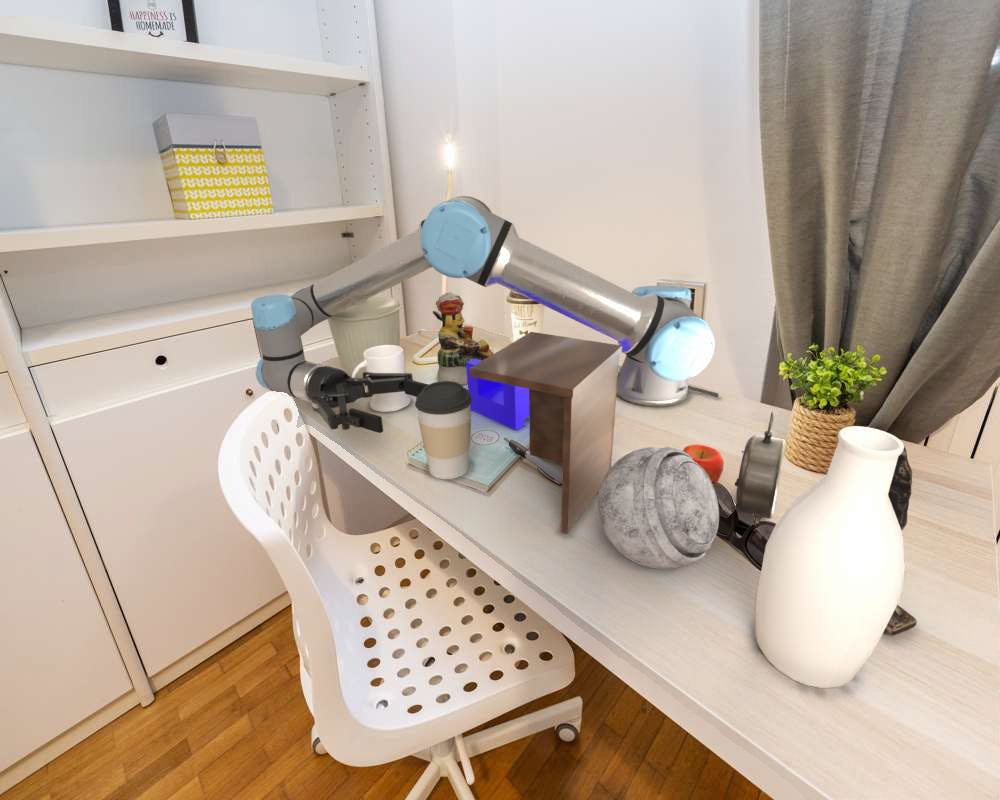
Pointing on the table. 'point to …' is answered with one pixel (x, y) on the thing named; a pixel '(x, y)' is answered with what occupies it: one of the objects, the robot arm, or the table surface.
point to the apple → (707, 460)
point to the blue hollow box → (498, 400)
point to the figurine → (456, 341)
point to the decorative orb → (659, 508)
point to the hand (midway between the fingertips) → (408, 408)
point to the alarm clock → (760, 474)
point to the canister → (365, 330)
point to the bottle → (834, 566)
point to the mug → (385, 362)
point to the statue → (900, 503)
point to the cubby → (564, 407)
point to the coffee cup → (445, 427)
